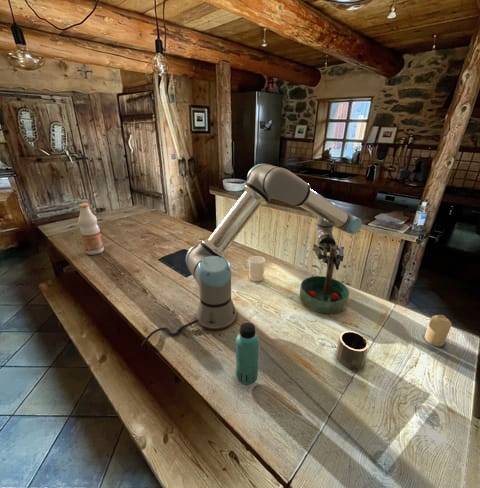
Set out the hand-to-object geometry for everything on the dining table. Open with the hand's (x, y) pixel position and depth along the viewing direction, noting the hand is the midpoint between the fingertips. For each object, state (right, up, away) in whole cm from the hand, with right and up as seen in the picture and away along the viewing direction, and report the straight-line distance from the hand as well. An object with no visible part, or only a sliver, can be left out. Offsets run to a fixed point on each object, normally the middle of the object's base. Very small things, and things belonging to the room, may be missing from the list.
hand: (333, 266), depth 102 cm
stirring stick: (+1, -13, +12) cm, 17 cm away
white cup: (-28, -8, +27) cm, 40 cm away
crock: (-1, -28, -17) cm, 33 cm away
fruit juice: (-120, +15, +47) cm, 129 cm away
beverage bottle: (-34, -31, -24) cm, 52 cm away
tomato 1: (-5, -13, +11) cm, 18 cm away
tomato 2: (+4, -14, +9) cm, 17 cm away
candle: (+31, -25, -10) cm, 41 cm away
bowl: (-1, -15, +11) cm, 19 cm away
